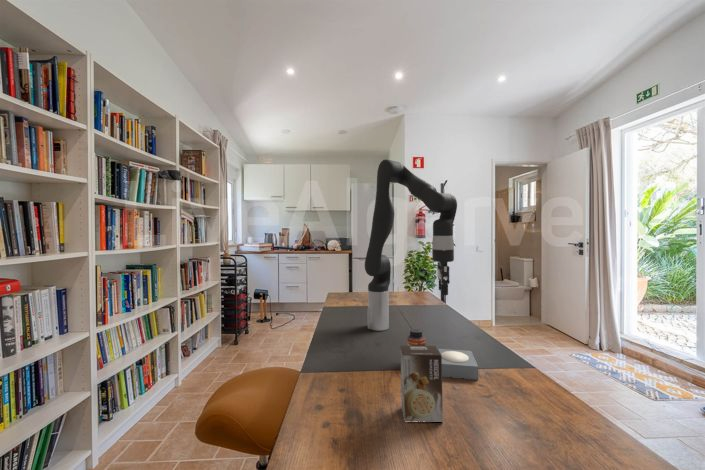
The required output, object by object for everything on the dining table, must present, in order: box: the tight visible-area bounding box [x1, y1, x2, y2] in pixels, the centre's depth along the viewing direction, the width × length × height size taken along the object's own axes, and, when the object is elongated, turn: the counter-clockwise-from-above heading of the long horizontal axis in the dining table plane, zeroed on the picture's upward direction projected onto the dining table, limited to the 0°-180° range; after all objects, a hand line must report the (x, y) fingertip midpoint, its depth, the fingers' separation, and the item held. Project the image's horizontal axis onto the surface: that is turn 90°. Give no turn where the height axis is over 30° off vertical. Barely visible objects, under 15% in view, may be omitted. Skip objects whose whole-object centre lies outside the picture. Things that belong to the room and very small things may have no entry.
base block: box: [437, 348, 479, 381], centre depth 99 cm, size 12×12×4 cm
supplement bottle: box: [406, 328, 426, 346], centre depth 103 cm, size 6×6×11 cm
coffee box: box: [399, 344, 444, 423], centre depth 75 cm, size 9×6×16 cm
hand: (443, 292), depth 113 cm, fingers open, 8 cm apart
